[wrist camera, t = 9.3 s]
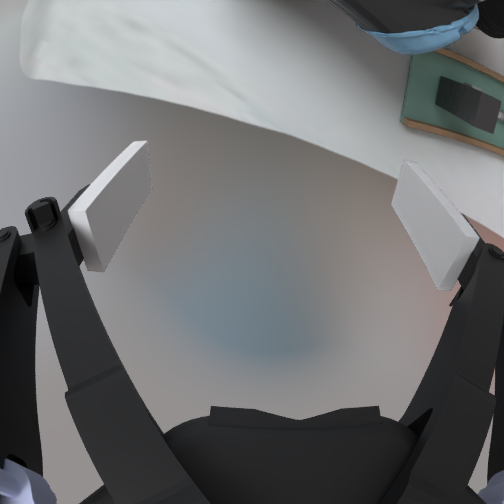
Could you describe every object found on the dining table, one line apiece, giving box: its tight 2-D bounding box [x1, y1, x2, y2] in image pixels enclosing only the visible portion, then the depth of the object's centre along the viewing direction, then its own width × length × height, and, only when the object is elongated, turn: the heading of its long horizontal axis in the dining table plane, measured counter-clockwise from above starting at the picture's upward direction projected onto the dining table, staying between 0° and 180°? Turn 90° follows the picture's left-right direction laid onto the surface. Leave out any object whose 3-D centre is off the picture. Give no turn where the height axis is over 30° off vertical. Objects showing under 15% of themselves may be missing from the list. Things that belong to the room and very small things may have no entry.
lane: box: [400, 48, 504, 156], centre depth 36 cm, size 14×28×4 cm, turn 87°
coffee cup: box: [473, 0, 504, 38], centre depth 22 cm, size 9×9×15 cm
